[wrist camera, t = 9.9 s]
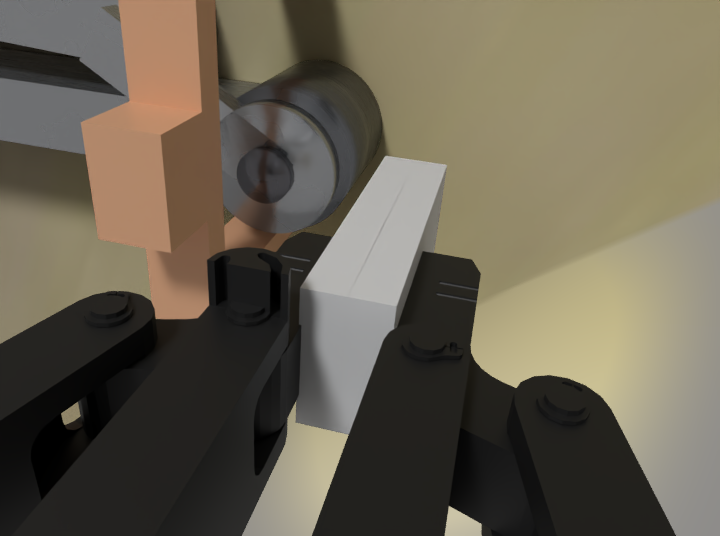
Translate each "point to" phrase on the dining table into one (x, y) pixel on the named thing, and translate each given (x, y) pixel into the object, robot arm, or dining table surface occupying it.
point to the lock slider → (167, 155)
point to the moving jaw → (237, 121)
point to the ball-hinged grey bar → (295, 85)
